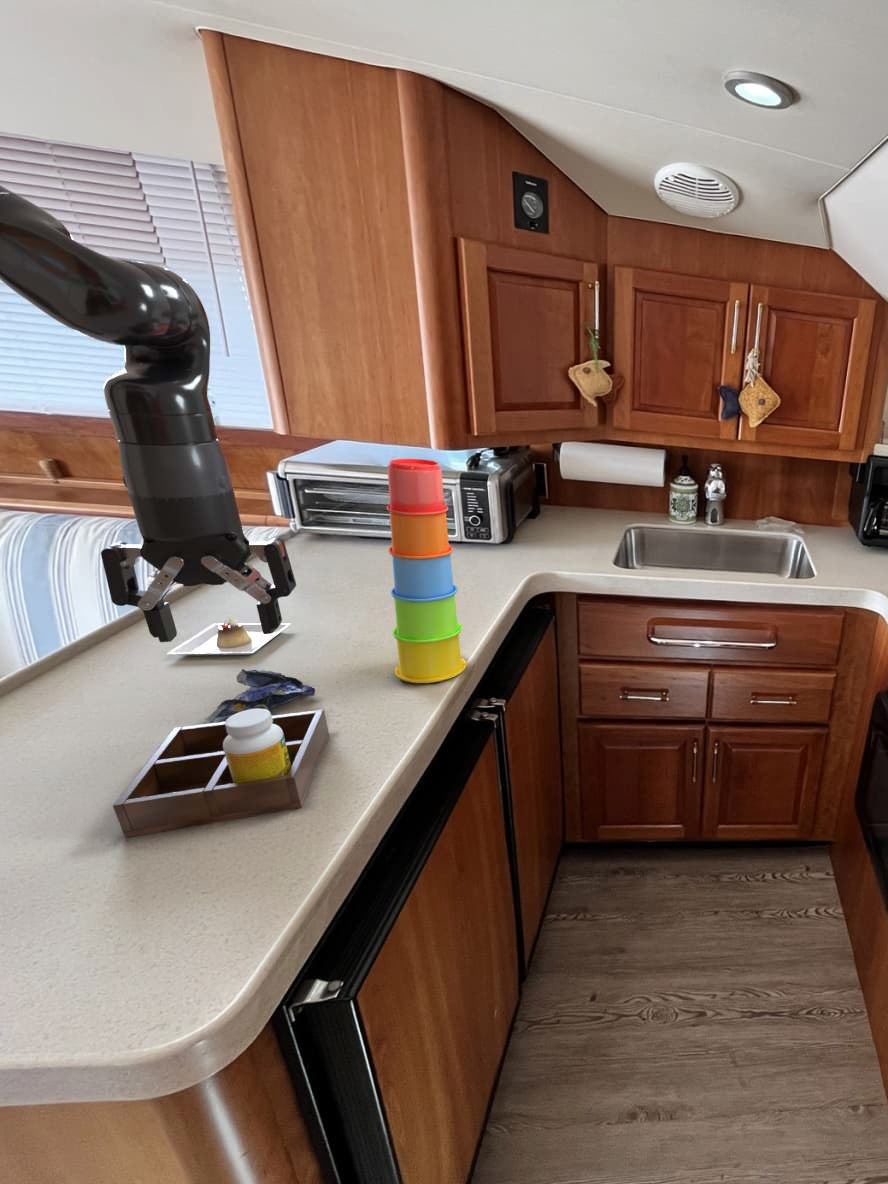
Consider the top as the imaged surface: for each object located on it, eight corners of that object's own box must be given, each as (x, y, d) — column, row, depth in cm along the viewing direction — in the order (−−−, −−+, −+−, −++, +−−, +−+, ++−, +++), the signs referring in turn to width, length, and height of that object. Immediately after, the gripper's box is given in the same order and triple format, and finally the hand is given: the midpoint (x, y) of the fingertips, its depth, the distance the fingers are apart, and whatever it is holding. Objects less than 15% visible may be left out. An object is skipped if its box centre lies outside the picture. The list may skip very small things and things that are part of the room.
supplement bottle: (229, 787, 75) (209, 717, 71) (284, 766, 79) (267, 699, 75) (246, 807, 72) (225, 736, 68) (302, 785, 76) (285, 716, 73)
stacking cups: (408, 657, 109) (377, 454, 96) (473, 656, 111) (450, 457, 99) (385, 686, 100) (347, 466, 87) (456, 684, 102) (429, 469, 89)
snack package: (215, 696, 94) (198, 735, 84) (215, 656, 92) (197, 691, 83) (317, 692, 100) (312, 728, 91) (318, 655, 99) (313, 687, 90)
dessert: (168, 660, 102) (159, 633, 100) (215, 629, 112) (208, 604, 111) (255, 658, 104) (248, 632, 102) (293, 628, 115) (287, 604, 113)
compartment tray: (124, 838, 68) (112, 806, 66) (183, 756, 81) (174, 727, 79) (301, 807, 74) (294, 777, 72) (329, 736, 87) (323, 709, 85)
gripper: (282, 479, 68) (310, 616, 74) (103, 477, 63) (148, 627, 68) (260, 494, 62) (293, 643, 68) (59, 494, 56) (113, 657, 62)
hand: (220, 635), depth 68 cm, fingers open, 8 cm apart
